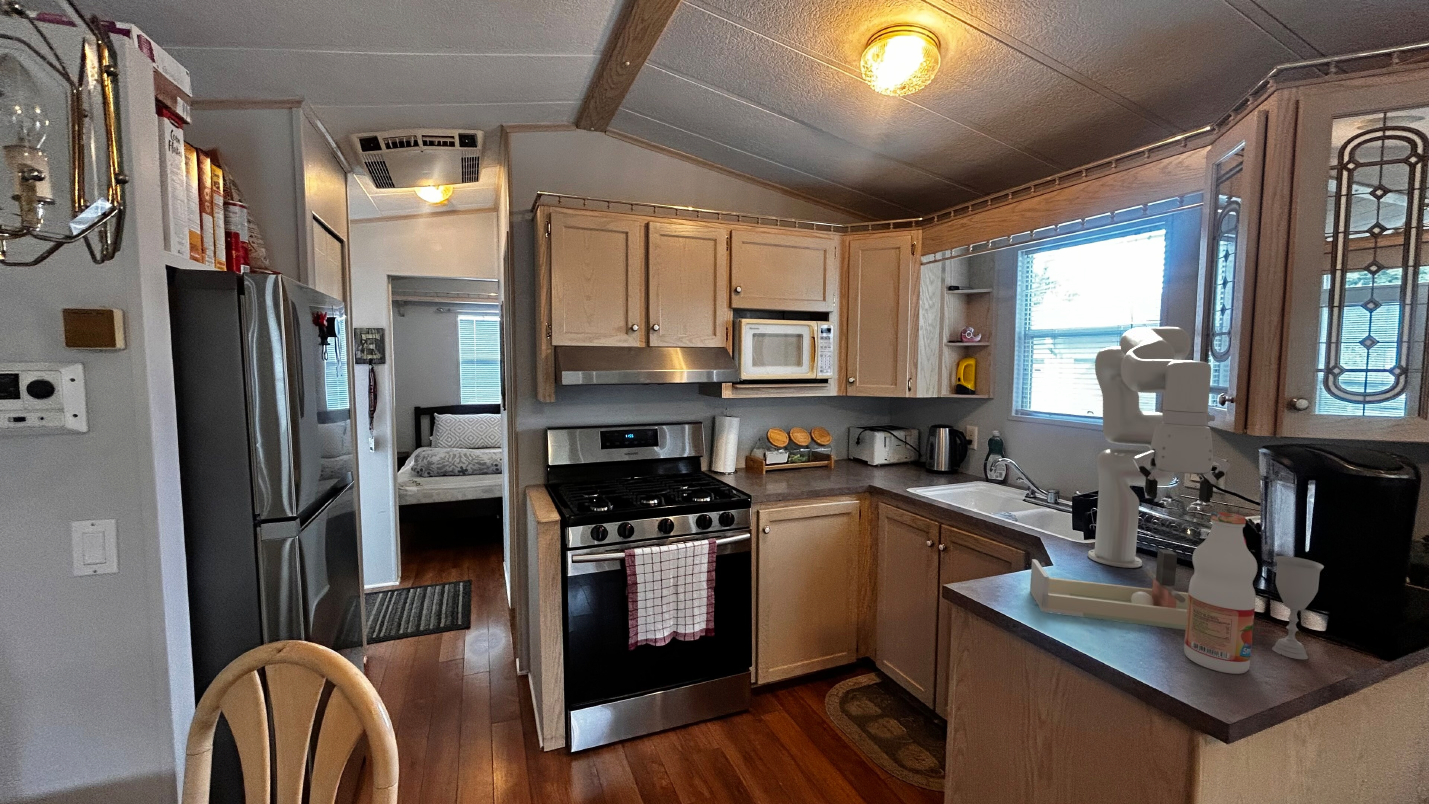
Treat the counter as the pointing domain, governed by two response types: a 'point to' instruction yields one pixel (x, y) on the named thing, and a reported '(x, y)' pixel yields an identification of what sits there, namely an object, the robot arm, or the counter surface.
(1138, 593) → the ball
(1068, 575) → the counter surface
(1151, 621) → the cream long tray
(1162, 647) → the counter surface
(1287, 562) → the chalice
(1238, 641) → the fruit juice
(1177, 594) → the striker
